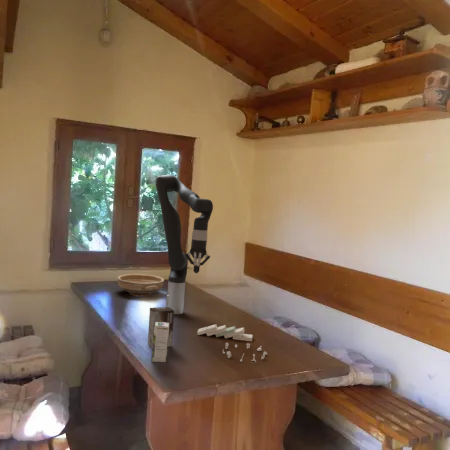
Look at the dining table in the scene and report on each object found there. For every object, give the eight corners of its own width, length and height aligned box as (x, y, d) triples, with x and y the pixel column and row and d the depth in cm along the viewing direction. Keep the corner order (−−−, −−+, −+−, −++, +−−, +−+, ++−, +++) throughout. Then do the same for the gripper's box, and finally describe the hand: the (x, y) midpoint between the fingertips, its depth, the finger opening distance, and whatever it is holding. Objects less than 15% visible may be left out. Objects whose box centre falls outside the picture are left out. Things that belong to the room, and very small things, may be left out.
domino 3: (215, 334, 226) (233, 329, 224) (217, 330, 231) (235, 326, 229) (216, 337, 226) (234, 332, 224) (218, 334, 231) (236, 329, 229)
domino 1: (197, 332, 227) (215, 326, 226) (198, 329, 232) (216, 324, 231) (198, 335, 227) (216, 330, 226) (199, 332, 232) (217, 327, 231)
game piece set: (233, 365, 193) (234, 356, 193) (214, 348, 212) (215, 339, 211) (275, 362, 201) (276, 353, 201) (254, 346, 219) (255, 337, 219)
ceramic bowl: (174, 299, 292) (175, 283, 291) (130, 302, 276) (131, 285, 276) (148, 286, 323) (149, 271, 322) (107, 288, 307) (108, 273, 306)
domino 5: (232, 335, 226) (252, 337, 225) (233, 332, 230) (252, 334, 230) (232, 339, 226) (251, 341, 225) (233, 336, 231) (252, 338, 230)
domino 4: (224, 335, 226) (242, 330, 224) (226, 331, 230) (243, 327, 228) (225, 338, 226) (243, 333, 224) (227, 335, 230) (244, 330, 229)
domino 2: (206, 333, 226) (224, 327, 225) (207, 330, 231) (225, 324, 230) (207, 336, 227) (225, 331, 225) (208, 333, 232) (226, 328, 230)
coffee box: (166, 342, 214) (169, 306, 212) (172, 346, 208) (174, 310, 207) (147, 343, 209) (149, 307, 208) (151, 348, 204) (154, 311, 203)
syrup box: (152, 356, 194) (154, 321, 193) (166, 357, 195) (169, 322, 194) (151, 361, 189) (153, 325, 188) (166, 362, 189) (169, 326, 188)
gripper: (213, 239, 243) (209, 273, 244) (187, 236, 244) (184, 270, 245) (212, 241, 236) (208, 275, 237) (185, 238, 236) (182, 272, 238)
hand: (196, 273), depth 241 cm, fingers closed
